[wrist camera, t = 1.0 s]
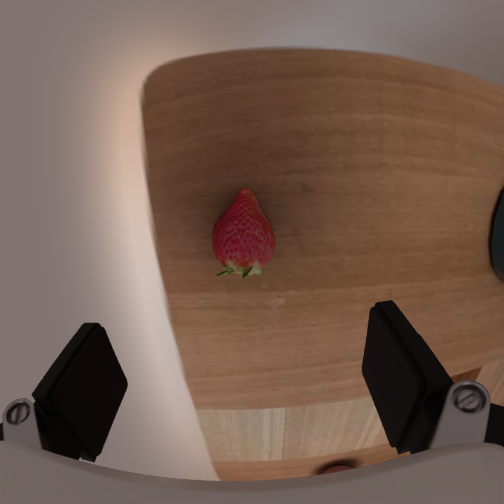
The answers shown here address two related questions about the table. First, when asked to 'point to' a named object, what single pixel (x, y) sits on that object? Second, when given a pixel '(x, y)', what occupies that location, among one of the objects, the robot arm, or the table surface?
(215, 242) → the fruit
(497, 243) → the bowl
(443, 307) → the table surface
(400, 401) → the robot arm
